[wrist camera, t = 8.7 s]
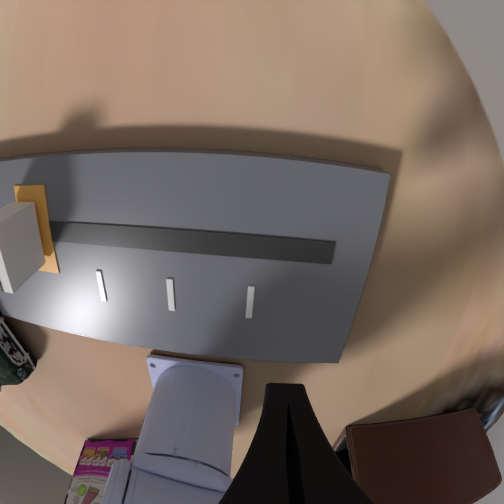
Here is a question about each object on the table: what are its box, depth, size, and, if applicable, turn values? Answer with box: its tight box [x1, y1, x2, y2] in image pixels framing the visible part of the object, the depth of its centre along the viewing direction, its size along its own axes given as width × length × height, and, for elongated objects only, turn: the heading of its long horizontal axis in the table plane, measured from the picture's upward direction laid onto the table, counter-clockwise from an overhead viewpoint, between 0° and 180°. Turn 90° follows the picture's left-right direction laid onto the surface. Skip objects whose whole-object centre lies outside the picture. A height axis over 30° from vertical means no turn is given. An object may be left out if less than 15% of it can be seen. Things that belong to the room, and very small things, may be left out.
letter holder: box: [332, 407, 502, 504], centre depth 24 cm, size 10×20×14 cm, turn 85°
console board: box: [0, 148, 391, 363], centre depth 19 cm, size 14×30×2 cm, turn 86°
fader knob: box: [0, 202, 46, 294], centre depth 15 cm, size 4×2×4 cm, turn 175°
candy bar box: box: [64, 438, 138, 504], centre depth 26 cm, size 11×5×16 cm, turn 116°
